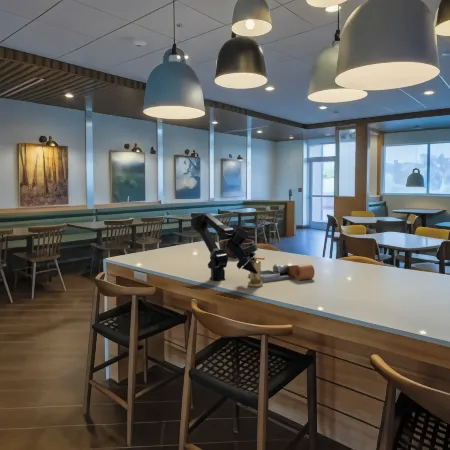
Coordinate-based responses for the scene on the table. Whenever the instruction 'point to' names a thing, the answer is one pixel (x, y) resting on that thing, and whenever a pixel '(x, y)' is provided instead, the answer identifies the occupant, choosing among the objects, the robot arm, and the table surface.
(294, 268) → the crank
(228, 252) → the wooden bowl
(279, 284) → the table surface
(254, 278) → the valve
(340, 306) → the table surface
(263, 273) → the socket plate
